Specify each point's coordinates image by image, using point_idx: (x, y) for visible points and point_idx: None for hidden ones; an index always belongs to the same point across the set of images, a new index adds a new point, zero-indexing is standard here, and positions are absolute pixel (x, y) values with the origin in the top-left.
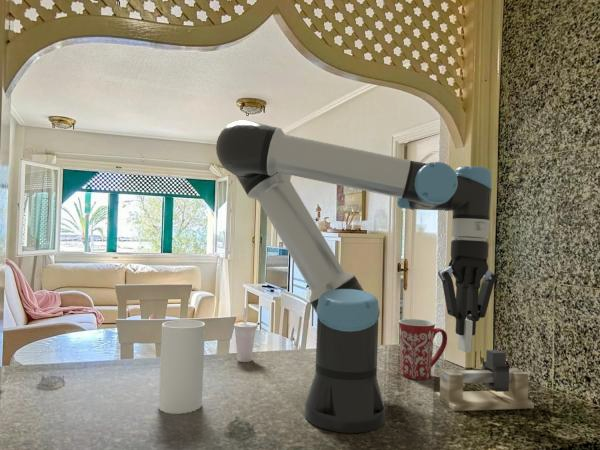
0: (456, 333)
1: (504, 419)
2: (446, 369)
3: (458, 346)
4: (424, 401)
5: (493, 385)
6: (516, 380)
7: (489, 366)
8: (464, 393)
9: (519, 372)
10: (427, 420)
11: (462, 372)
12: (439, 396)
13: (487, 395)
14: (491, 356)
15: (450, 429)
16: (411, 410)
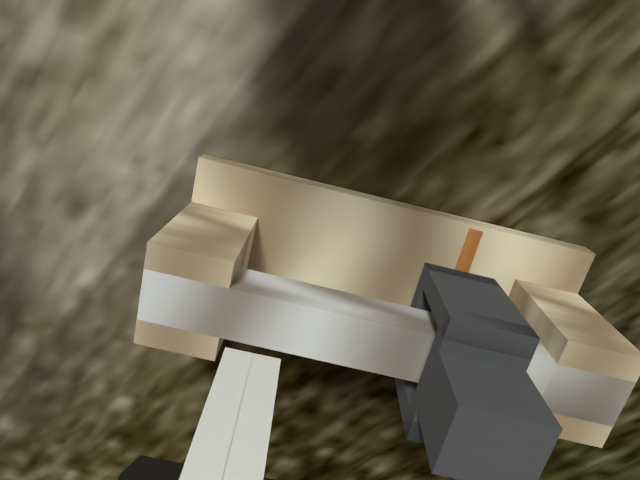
0: (138, 461)
1: (310, 421)
2: (187, 253)
3: (220, 363)
4: (118, 185)
5: None
6: None
7: (425, 376)
8: (330, 219)
9: (578, 418)
10: (22, 344)
11: (245, 326)
12: (192, 199)
13: (419, 273)
14: (430, 438)
15: (63, 420)
16: (6, 251)
